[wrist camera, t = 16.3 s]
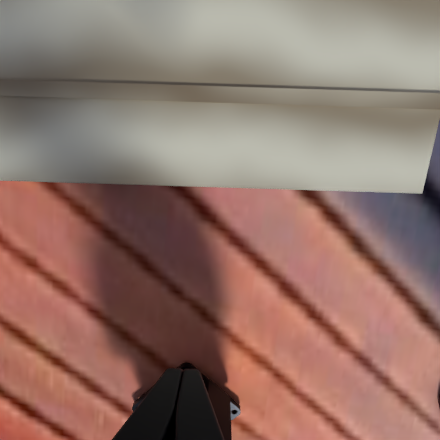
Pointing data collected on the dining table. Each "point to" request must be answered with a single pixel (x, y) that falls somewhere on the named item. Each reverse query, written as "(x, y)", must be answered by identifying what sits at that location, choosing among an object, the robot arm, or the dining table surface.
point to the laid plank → (220, 93)
